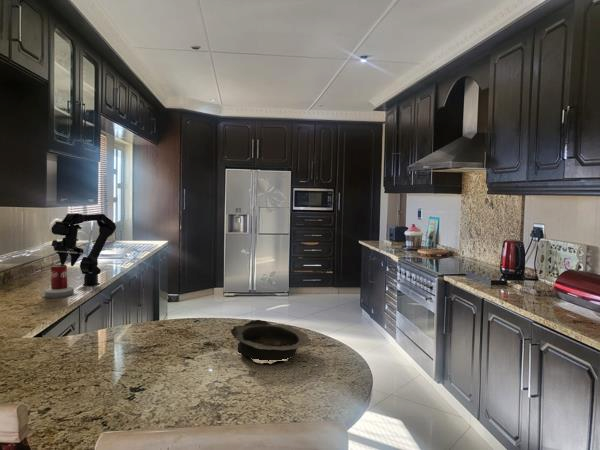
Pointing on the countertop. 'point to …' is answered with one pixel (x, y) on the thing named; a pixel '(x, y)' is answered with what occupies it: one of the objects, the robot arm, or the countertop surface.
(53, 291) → the riser
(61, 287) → the soda can
